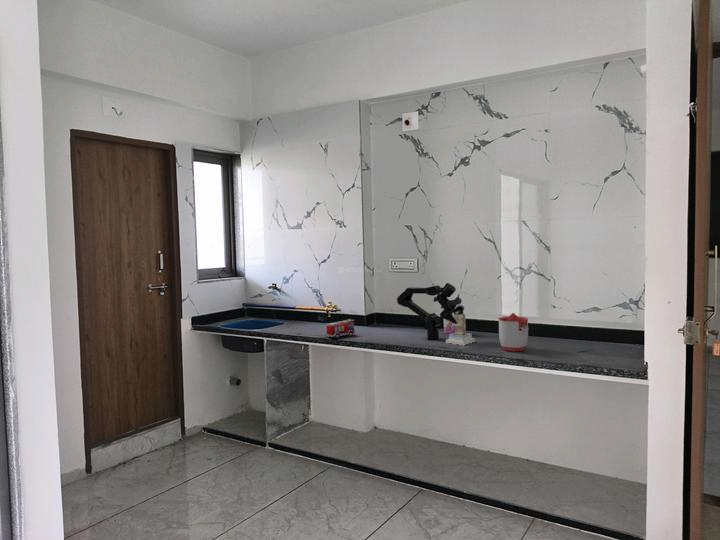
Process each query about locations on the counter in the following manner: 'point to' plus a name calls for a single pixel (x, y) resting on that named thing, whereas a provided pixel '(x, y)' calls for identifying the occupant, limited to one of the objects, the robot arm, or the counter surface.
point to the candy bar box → (449, 326)
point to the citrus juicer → (513, 332)
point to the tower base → (460, 339)
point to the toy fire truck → (340, 328)
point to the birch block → (460, 324)
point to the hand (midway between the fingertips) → (461, 322)
